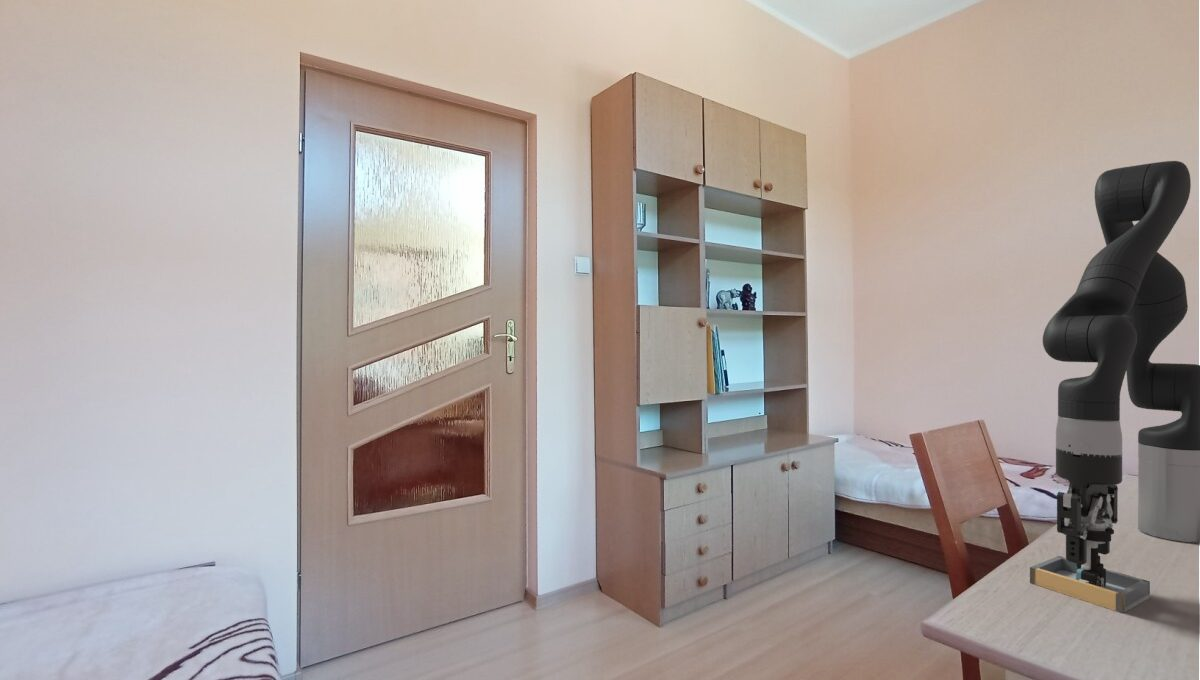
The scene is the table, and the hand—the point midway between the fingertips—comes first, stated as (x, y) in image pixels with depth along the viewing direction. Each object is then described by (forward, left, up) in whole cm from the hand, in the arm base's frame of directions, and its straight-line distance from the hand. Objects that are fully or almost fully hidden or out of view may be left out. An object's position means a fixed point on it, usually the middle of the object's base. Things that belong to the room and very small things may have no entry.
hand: (1088, 557), depth 84 cm
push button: (+1, 0, -5) cm, 5 cm away
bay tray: (0, 0, -5) cm, 5 cm away
